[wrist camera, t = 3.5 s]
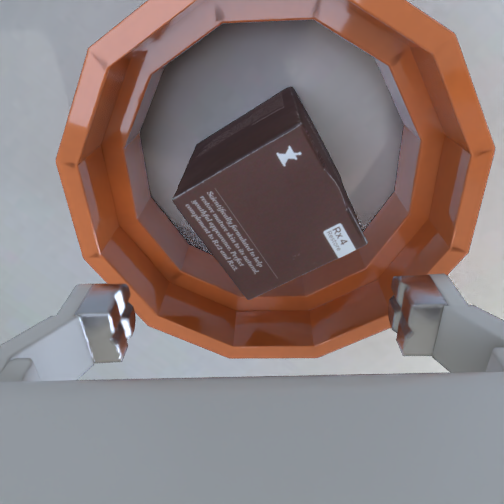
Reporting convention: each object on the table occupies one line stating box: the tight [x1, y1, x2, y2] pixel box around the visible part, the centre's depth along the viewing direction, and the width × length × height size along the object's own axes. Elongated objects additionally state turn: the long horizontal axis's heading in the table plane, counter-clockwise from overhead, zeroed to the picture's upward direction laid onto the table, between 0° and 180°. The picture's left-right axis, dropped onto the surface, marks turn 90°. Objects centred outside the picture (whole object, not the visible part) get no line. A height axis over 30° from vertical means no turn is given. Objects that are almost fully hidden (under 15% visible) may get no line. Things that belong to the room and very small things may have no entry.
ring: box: [56, 0, 495, 358], centre depth 21 cm, size 18×18×6 cm
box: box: [172, 87, 368, 300], centre depth 20 cm, size 6×6×7 cm
